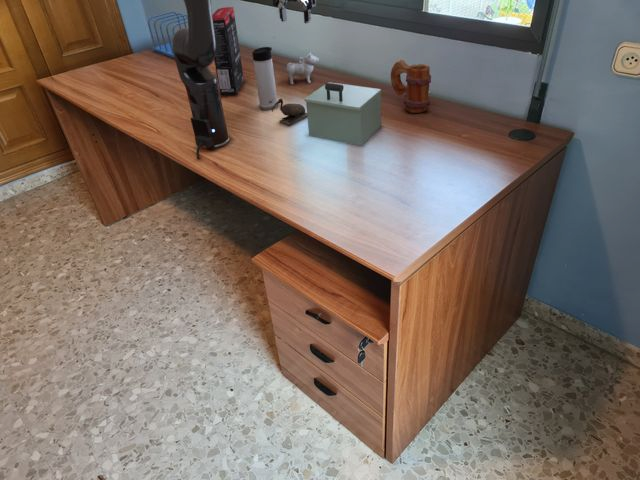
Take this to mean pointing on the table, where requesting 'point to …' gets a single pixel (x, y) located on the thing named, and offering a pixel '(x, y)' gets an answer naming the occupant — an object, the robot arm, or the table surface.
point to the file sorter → (167, 47)
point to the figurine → (291, 113)
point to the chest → (344, 121)
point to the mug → (412, 85)
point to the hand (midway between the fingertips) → (295, 21)
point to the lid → (343, 95)
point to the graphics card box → (227, 52)
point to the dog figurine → (302, 67)
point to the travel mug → (265, 78)
